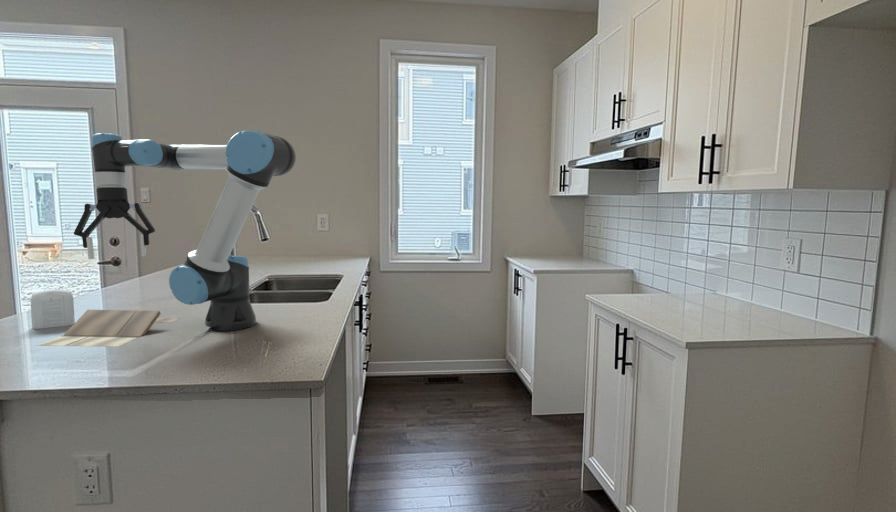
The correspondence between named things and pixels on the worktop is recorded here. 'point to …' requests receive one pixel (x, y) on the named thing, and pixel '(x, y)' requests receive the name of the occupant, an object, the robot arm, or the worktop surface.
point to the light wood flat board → (89, 341)
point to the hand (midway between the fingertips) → (118, 257)
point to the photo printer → (52, 309)
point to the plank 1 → (114, 323)
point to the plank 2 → (166, 320)
